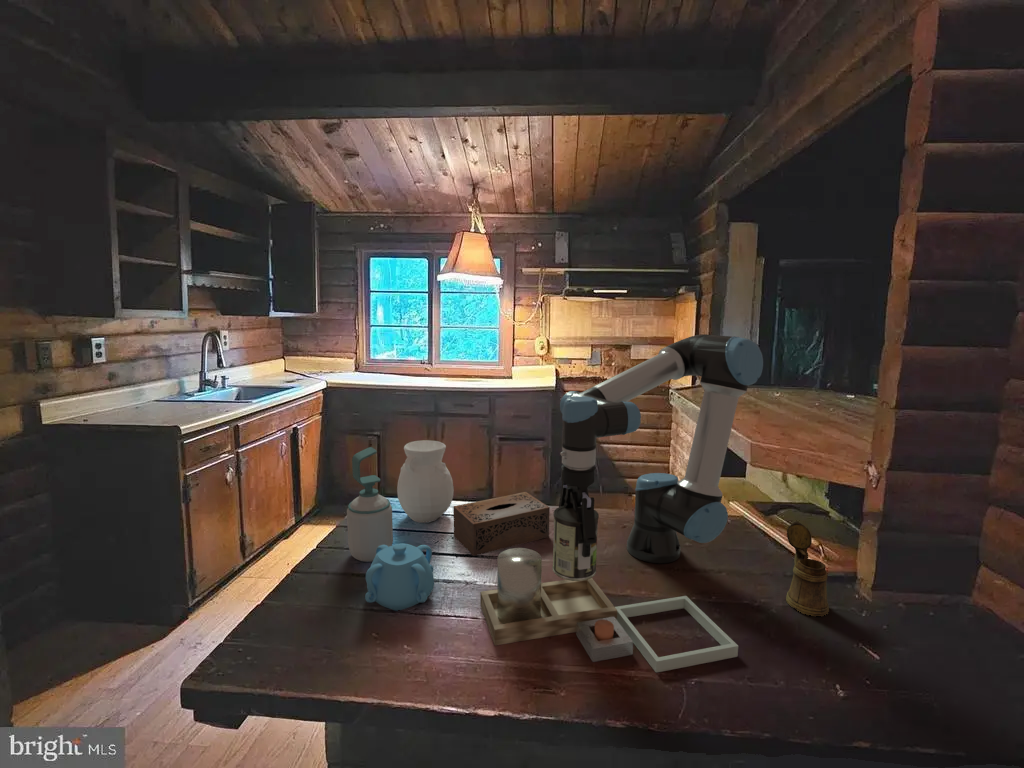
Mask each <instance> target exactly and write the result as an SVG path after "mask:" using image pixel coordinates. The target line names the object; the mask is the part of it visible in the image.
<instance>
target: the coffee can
mask: <svg viewBox="0 0 1024 768" xmlns="http://www.w3.org/2000/svg"><path fill="white" fill-rule="evenodd" d="M578 508H581V507H578ZM594 516H595V529H596V543H593V544H591V558H590V568H589V569H581V570H579V569H578V542H577V541H580V534H579V526H580V524H583V522H581V523H580V522H579V521H577V515H576V512H574V509H573V508H565V506H561V507H559V506H558V507H556V508H555V509H554V510H553V549H552V550H553V552H552V553H553V554H552V555H553V556H552V572H553V574H555V576H557V577H558V578H561V579H562V580H570V581H585V580H588V579H591V578H592V579H593V578H594V577H595V576H596V575H597V551H598V550H597V547H598V529H599V527H598V526H599V524H598V523H599V516H600V515H599V512H598V511H597V510H596V509H594Z"/></svg>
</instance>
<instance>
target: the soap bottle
mask: <svg viewBox="0 0 1024 768" xmlns="http://www.w3.org/2000/svg"><path fill="white" fill-rule="evenodd" d="M377 453H378V451H377V449H375V448H374V447H371V446H370V447H367V448H365V449H362V450H361V451H358V452H357V453H355V454H353V456H352V459H351V464H352V465H351V466H352V467H351V468H352V469H351V470H352V478H353V479H354V480H355V481H356V482H357V483H359V484H360V485H361V486H362V487H364V488H363V489H361V490H360V491H359V496H357V497H356V498H354V499H353V500H352V501H351V502H349V504H348V505H347V508H346V523H347V528H346V529H347V544H348V549H349V552H350V554H351V556H352V558H354V559H356V560H358V561H360V562H364V563H365V562H366V563H367V562H368V563H369V562H370V563H372V562H373V560H374V558H375V556H376V549H377V548H378V547H379V546H380V545H387V546H388V547H389V546H392V545H394V536H393V535H394V534H393V533H394V530H393V528H394V526H393V524H394V523H393V507H392V505H391V501H390V499H388V498H387V497H385V496H383V495H381V494H379V489H377V488H374V486H375V485H376V484H377V483H380V482H381V478H380V477H378V476H377V475H376V474H374V475H373V474H372V475H367V476H362V477H361V468H360V467H361V463H362V461H364V460H365V459H367V458H369V457H371V456H373V455H375V454H377Z"/></svg>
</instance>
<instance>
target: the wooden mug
mask: <svg viewBox="0 0 1024 768" xmlns="http://www.w3.org/2000/svg"><path fill="white" fill-rule="evenodd" d="M786 537H787V541H788V543H789V546H791V547H792V548H794V550H795V553H794V559H793V561H794V565H793V568H792V572H793V575H792V580H791V582H790V586H789V589H788V591H787V593H786V596H785V599H786V603H787V604H789V605H790V606H791V607H793V608H795V609H796V610H797V611H796V610H795V611H796V612H798V611H799V612H798V613H800V612H801V613H800V614H803V615H805V614H806V616H809V615H811V616H810V617H816V616H821V617H825V616H827V615H828V614H829V613H828V612H830V609H829V603H828V590H827V580H828V571H827V570H826V569H827V568H826V567H827V566H826V565H825V564H824V562H822V561H820V560H816V559H814V558H809V553H808V552H809V551H808V549H809V548H810V547H811V545H812V543H813V542H812V540H813V539H812V534H811V532H810V530H809V529H808V528H807V527H806V526H805V525H804V524H803V523H801V522H799V521H797V520H796V521H794V522H793V523H791V524H790V525H789V526H788V527H787V529H786ZM789 605H788V606H789ZM790 606H789V607H790ZM791 607H790V608H791ZM793 608H792V609H793ZM826 614H827V615H826ZM824 615H825V616H824Z"/></svg>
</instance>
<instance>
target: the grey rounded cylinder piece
mask: <svg viewBox="0 0 1024 768" xmlns="http://www.w3.org/2000/svg"><path fill="white" fill-rule="evenodd" d="M542 561H543V559H542V556H541V554H540V553H538V551H535V550H533V549H530V548H525V547H514V548H512V547H511V548H508V549H505V550H503V551H501V552H500V553H499V554H498V556H497V569H496V570H497V578H496V579H497V583H496V584H497V588H496V589H497V617H498V619H499V621H500V622H501V623H503V624H506V623H513V622H519V621H525V620H532V619H538V618H540V617H541V583H542V568H543V567H542V566H543V564H542V563H543V562H542Z"/></svg>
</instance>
